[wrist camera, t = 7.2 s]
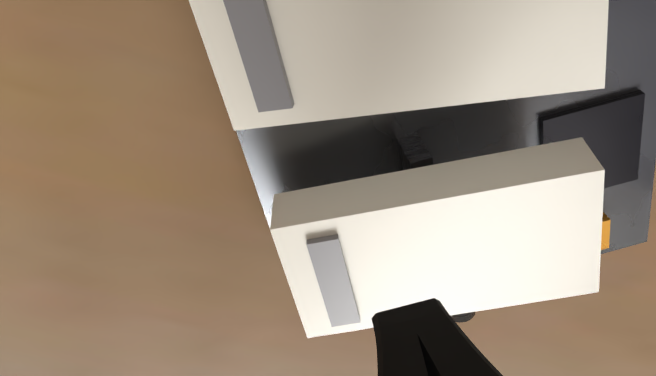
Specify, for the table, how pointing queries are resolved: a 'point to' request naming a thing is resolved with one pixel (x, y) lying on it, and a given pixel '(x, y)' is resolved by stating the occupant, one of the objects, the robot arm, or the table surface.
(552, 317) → the table surface
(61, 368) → the table surface
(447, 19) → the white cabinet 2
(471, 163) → the white rectangular block
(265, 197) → the grey slab
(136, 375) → the table surface
